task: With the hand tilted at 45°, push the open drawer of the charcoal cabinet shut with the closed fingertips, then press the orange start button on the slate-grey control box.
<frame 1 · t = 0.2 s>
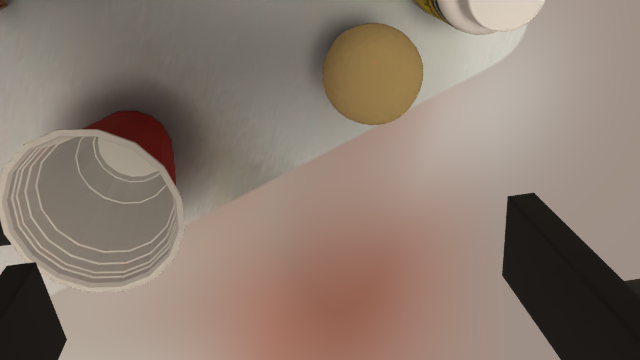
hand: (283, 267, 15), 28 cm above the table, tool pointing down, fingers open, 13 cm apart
plastic cup: (132, 142, 42), on the table
light bulb: (353, 50, 41), on the table
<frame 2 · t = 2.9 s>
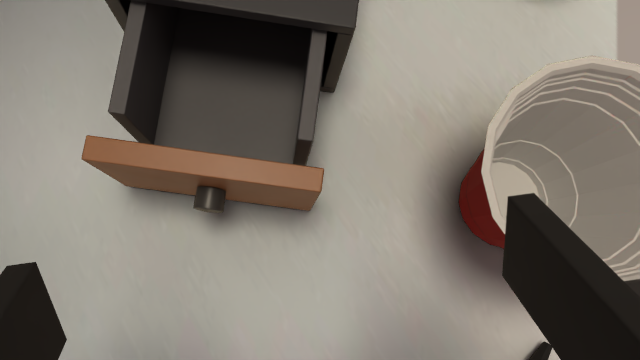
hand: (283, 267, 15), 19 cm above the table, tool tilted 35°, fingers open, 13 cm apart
plastic cup: (495, 204, 36), on the table
drawer: (229, 82, 31), point 5 cm above the table, slide at 7.0 cm
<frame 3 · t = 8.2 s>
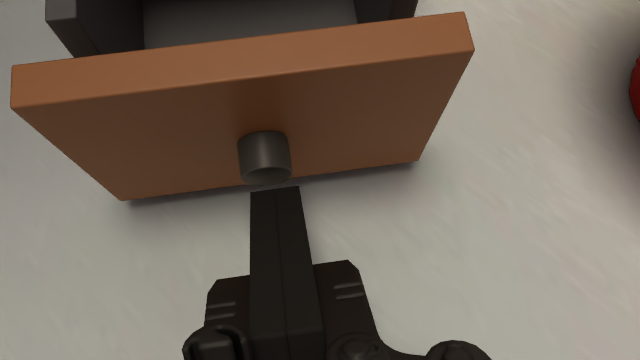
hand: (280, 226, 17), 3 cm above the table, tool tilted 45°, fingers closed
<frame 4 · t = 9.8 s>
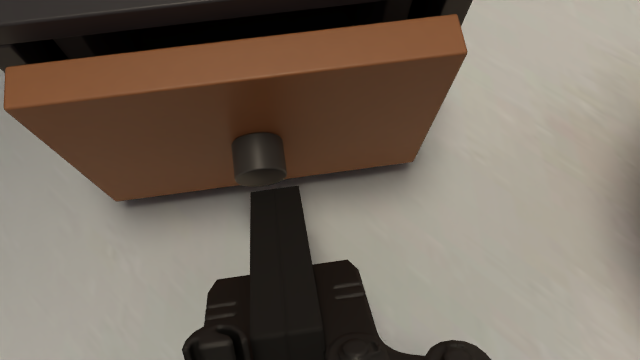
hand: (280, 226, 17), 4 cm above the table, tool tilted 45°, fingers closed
cabinet: (245, 0, 24), on the table
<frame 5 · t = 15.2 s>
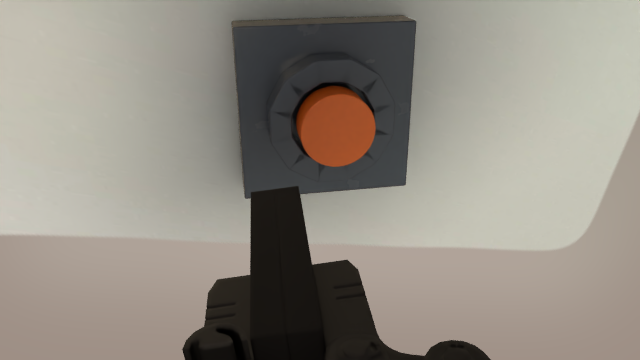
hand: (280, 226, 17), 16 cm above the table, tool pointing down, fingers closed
control box: (320, 102, 33), on the table
start button: (335, 126, 29), point 4 cm above the table, slide at 0.1 cm
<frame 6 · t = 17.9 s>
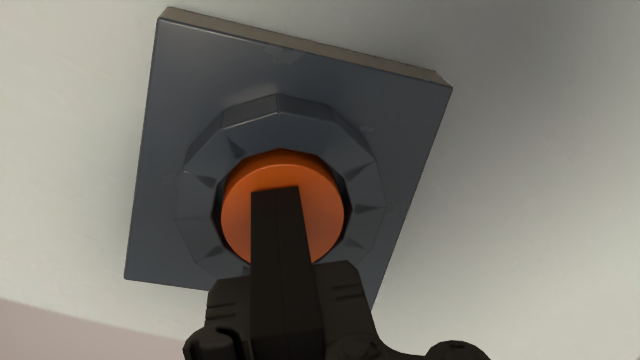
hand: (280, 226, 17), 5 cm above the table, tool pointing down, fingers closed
control box: (278, 163, 21), on the table
start button: (282, 206, 18), point 4 cm above the table, slide at -0.8 cm, touching gripper
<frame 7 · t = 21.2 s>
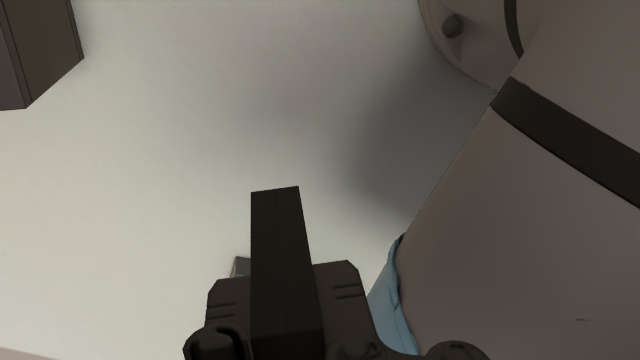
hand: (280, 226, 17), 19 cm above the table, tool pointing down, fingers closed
control box: (282, 318, 43), on the table
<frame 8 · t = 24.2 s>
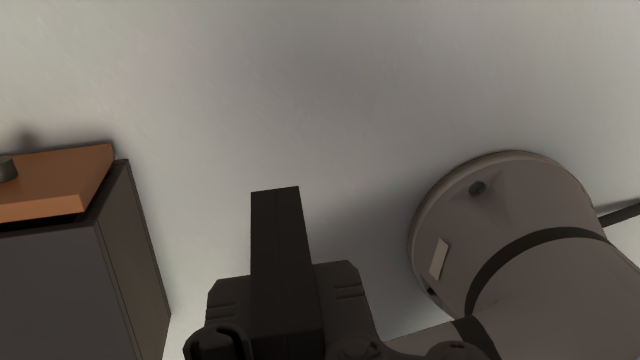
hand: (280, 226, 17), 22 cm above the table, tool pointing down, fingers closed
drawer: (36, 258, 37), point 5 cm above the table, slide at 0.5 cm
cabinet: (70, 253, 42), on the table
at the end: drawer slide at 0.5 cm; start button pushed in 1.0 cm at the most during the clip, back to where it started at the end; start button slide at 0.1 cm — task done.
